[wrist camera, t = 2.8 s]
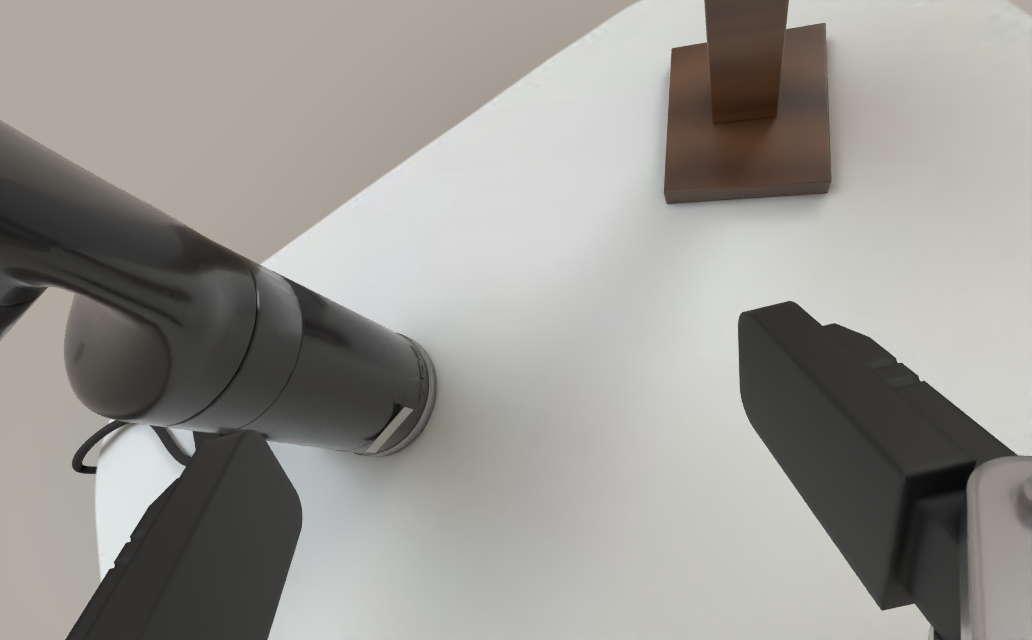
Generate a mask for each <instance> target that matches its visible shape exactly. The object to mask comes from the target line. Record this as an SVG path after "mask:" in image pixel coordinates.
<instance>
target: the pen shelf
mask: <svg viewBox="0 0 1032 640" xmlns="http://www.w3.org/2000/svg"><path fill="white" fill-rule="evenodd" d="M704 1H705V17H706V32H707V43H701V44H695V45H689V46H683V47H677V48H672V53H671V72H670V90H669V108H668V127H667V145H666V163H665V182H664V195H665V200H666V203H679V202H694V201H710V200H725V199H740V198H756V197H771V196H786V195H802V194H817V193H828V190H829V187H830V183H831V158H830V131H829V104H828V77H827V50H826V24H825V23H821V24H815V25H809V26H803V27H797V28H791V29H786V23H787V13H788V3H789V0H704Z"/></svg>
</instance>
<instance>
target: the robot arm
mask: <svg viewBox="0 0 1032 640" xmlns="http://www.w3.org/2000/svg"><path fill="white" fill-rule="evenodd" d="M48 287H56V288H60V289H65V290H68V291H70V292H73V293H75V295H74V298H73V302H72V306H71V309H70V313H69V316H68V321H67V326H66V332H65V340H64V359H65V367H66V372H67V377H68V380H69V382H70V385H71V387H72V389H73V391H74V393H75V394H76V396H77V398H78V399H79V400H80V401H81V402H82V403H83V404H84V405H85V406H86V407H88V408H89V409H90V410H91V411H93V412H95V413H97V414H99V415H101V416H104V417H107V418H110V419H114V420H115V421H113V422H111V423H110V424H108V425H106V426H105V427H103V428H102V429H100V430H99V431H98V432H96V433H95V434H94V435H93V436H92V437H90V438H89V439H88V440H87V441H86V442H85V443H84V444H83V445H82V446H81V447H80V448H79V450H78V451H77V453H76V454H75V456H74V458H73V461H72V467H73V469H74V470H75V471H76V472H78V473H83V474H97V467H96V466H85V465H83V464H82V461H83V458H84V457H85V455H86V454H87V452H88V451H89V450H90V449H91V448H92V447H93V446H94V445H95V443H97V442H98V441H99V440H100V439H102V438H103V437H104V436H106V435H107V434H109V433H110V432H112V431H114V430H115V429H117V428H119V427H121V426H123V425H126V424H128V423H138V424H145V425H149V426H151V427H152V428H153V429H154V431H155V432H156V433H157V435H158V436H159V438H160V439H161V441H162V443H163V444H164V446H165V447H166V449H167V450H168V451H169V453H170V454H171V455H172V456H173V457H174V458H175V460H177V461H178V462H179V463H181V464H182V465H184V466H186V468H185V469H184V471H183V473H182V474H181V476H180V478H177V479H176V480H175V481H174V482H173V483H172V484H171V485H170V486H169V487H168V488H167V489H166V490H165V491H164V492H163V493H162V494H161V495H160V496H159V497H158V498H157V499H156V500H155V501H154V502H153V503H152V504H151V505H150V506H149V507H148V509H147V510H146V512H145V514H144V515H143V517H142V518H141V520H140V522H139V523H138V525H137V526H136V528H135V530H134V531H133V533H132V534H131V536H130V538H131V541H130V542H128V543H126V544H125V546H124V547H123V549H122V550H121V552H120V553H119V555H118V557H117V558H116V560H115V561H114V563H115V567H114V568H112V569H109V571H108V573H107V574H106V576H105V577H104V579H103V581H102V582H101V584H100V585H99V587H98V589H97V590H96V592H95V593H94V595H93V596H92V598H91V600H90V601H89V603H88V605H87V606H86V608H85V610H84V611H83V613H82V614H81V616H80V617H79V619H78V621H77V622H76V624H75V625H74V627H73V628H72V630H71V632H70V633H69V635H68V636H67V638H66V640H267V639H268V636H269V633H270V629H271V626H272V623H273V620H274V616H275V613H276V610H277V607H278V603H279V600H280V597H281V594H282V590H283V587H284V584H285V581H286V577H287V574H288V571H289V568H290V564H291V561H292V558H293V554H294V551H295V548H296V545H297V541H298V538H299V535H300V532H301V527H302V507H301V503H300V499H299V496H298V494H297V492H296V490H295V488H294V487H293V485H292V483H291V482H290V480H289V478H288V477H287V475H286V473H285V472H284V470H283V469H282V467H281V465H280V464H279V462H278V460H277V459H276V457H275V455H274V454H273V452H272V450H271V449H270V447H269V445H268V444H267V442H266V441H274V442H281V443H288V444H296V445H303V446H310V447H317V448H325V449H332V450H337V451H345V452H352V453H355V454H358V455H364V456H372V457H379V456H385V455H389V454H392V453H395V452H397V451H399V450H401V449H402V448H404V447H405V446H407V445H408V444H409V443H410V442H412V441H413V440H414V439H415V438H416V437H417V436H418V434H419V433H420V432H421V431H422V429H423V428H424V426H425V424H426V423H427V421H428V419H429V417H430V414H431V412H432V409H433V406H434V402H435V396H436V376H435V371H434V368H433V365H432V362H431V360H430V358H429V356H428V354H427V353H426V352H425V350H424V349H423V348H422V347H421V346H420V345H419V344H418V343H416V342H415V341H413V340H411V339H410V338H408V337H406V336H404V335H401V334H399V333H395V332H393V331H391V330H389V329H387V328H385V327H383V326H381V325H379V324H377V323H375V322H373V321H371V320H369V319H367V318H365V317H363V316H361V315H359V314H357V313H355V312H353V311H351V310H349V309H347V308H345V307H343V306H341V305H339V304H337V303H335V302H333V301H331V300H330V299H328V298H326V297H324V296H322V295H320V294H318V293H316V292H314V291H312V290H310V289H308V288H306V287H304V286H302V285H300V284H298V283H296V282H294V281H292V280H290V279H288V278H286V277H284V276H282V275H280V274H278V273H276V272H274V271H271V270H269V269H267V268H265V267H263V266H261V265H259V264H257V263H255V262H253V261H251V260H249V259H247V258H245V257H243V256H241V255H239V254H237V253H235V252H233V251H231V250H230V249H228V248H226V247H224V246H222V245H220V244H218V243H216V242H214V241H212V240H210V239H208V238H206V237H205V236H203V235H201V234H200V233H198V232H196V231H195V230H193V229H191V228H190V227H188V226H186V225H185V224H183V223H181V222H180V221H178V220H176V219H175V218H173V217H171V216H170V215H168V214H166V213H165V212H163V211H161V210H159V209H157V208H156V207H154V206H152V205H151V204H148V203H147V202H145V201H143V200H141V199H139V198H137V197H135V196H133V195H132V194H130V193H128V192H126V191H124V190H122V189H120V188H118V187H116V186H114V185H112V184H111V183H109V182H107V181H105V180H103V179H102V178H100V177H98V176H96V175H94V174H93V173H91V172H89V171H87V170H85V169H84V168H82V167H80V166H79V165H77V164H75V163H73V162H71V161H69V160H68V159H66V158H64V157H63V156H61V155H59V154H58V153H56V152H54V151H52V150H51V149H49V148H47V147H45V146H44V145H42V144H40V143H39V142H37V141H35V140H33V139H32V138H30V137H28V136H27V135H25V134H23V133H22V132H20V131H18V130H16V129H15V128H13V127H11V126H9V125H8V124H6V123H4V122H3V121H1V120H0V340H1V339H2V338H3V337H4V336H5V335H6V334H7V333H8V332H9V330H10V329H11V328H12V327H13V326H14V325H15V324H16V322H17V321H18V320H19V319H20V318H21V317H22V316H23V315H24V313H25V312H26V311H27V310H28V309H29V308H30V307H31V306H32V305H33V303H34V302H35V301H36V300H37V299H38V298H39V297H40V296H41V294H42V293H43V292H44V291H45V290H46V289H47V288H48ZM738 342H739V375H740V393H741V399H742V403H743V406H744V409H745V412H746V415H747V417H748V419H749V421H750V423H751V425H752V426H753V428H754V429H755V431H756V432H757V434H758V435H759V436H760V438H761V439H762V441H763V442H764V444H765V445H766V446H767V448H768V449H769V451H770V452H771V454H772V455H773V456H774V458H775V459H776V461H777V462H778V464H779V465H780V466H781V468H782V469H783V471H784V472H785V473H786V475H787V476H788V478H789V479H790V481H791V482H792V483H793V485H794V486H795V488H796V489H797V491H798V492H799V493H800V495H801V496H802V498H803V499H804V501H805V502H806V503H807V505H808V506H809V508H810V509H811V511H812V512H813V513H814V515H815V516H816V518H817V519H818V520H819V522H820V523H821V525H822V526H823V528H824V529H825V530H826V532H827V533H828V535H829V536H830V538H831V539H832V540H833V542H834V543H835V545H836V546H837V548H838V549H839V550H840V552H841V553H842V555H843V556H844V558H845V559H846V560H847V562H848V563H849V565H850V566H851V568H852V569H853V570H854V572H855V573H856V575H857V576H858V577H859V579H860V580H861V582H862V583H863V585H864V586H865V587H866V589H867V590H868V592H869V593H870V595H871V596H872V597H873V599H874V600H875V602H876V603H877V605H878V606H879V607H880V609H881V610H887V609H891V608H896V607H900V606H905V605H909V604H914V603H915V605H916V606H917V607H918V608H919V610H920V611H921V612H922V614H923V615H924V616H925V618H926V619H927V620H928V621H929V623H930V624H931V626H930V630H929V636H928V640H1032V456H1018V455H1017V454H1015V453H1014V452H1013V451H1011V450H1010V449H1009V448H1008V447H1006V446H1005V445H1004V444H1003V443H1001V442H1000V441H999V440H998V439H996V438H995V437H994V436H993V435H991V434H990V433H989V432H988V431H986V430H985V429H984V428H983V427H981V426H980V425H979V424H978V423H976V422H975V421H974V420H973V419H971V418H970V417H969V416H968V415H966V414H965V413H964V412H963V411H961V410H960V409H959V408H958V407H956V406H955V405H954V404H953V403H951V402H950V401H949V400H948V399H946V398H945V397H944V396H943V395H941V394H940V393H939V392H938V391H936V390H935V389H934V388H933V387H931V386H930V385H929V384H928V383H926V382H925V381H922V382H921V381H920V380H919V376H918V375H916V374H915V373H914V372H913V371H911V370H910V369H909V368H908V367H906V366H905V365H904V364H903V363H897V361H896V358H895V357H894V356H893V355H891V354H890V353H889V352H888V351H886V350H885V349H884V348H883V347H881V346H880V345H879V344H877V343H876V342H875V341H874V340H872V339H871V338H870V337H867V336H865V335H863V334H860V333H858V332H855V331H853V330H850V329H848V328H845V327H843V326H840V325H838V324H835V323H834V324H830V325H825V326H822V325H821V324H819V323H818V322H817V321H816V320H815V319H814V318H813V317H811V316H810V315H809V314H808V313H807V312H806V311H805V310H803V309H802V308H801V307H800V306H799V305H798V304H796V303H795V302H792V301H787V302H783V303H779V304H775V305H771V306H767V307H763V308H758V309H754V310H750V311H746V312H742V313H741V315H740V316H739V321H738ZM164 427H169V428H176V429H184V430H191V431H198V432H206V433H215V434H222V435H225V436H221V437H216V438H212V439H208V440H205V441H203V442H202V443H201V444H200V445H199V446H198V448H197V449H196V451H195V453H194V454H193V456H192V458H190V457H188V456H186V455H185V454H184V453H182V452H181V451H180V450H179V448H178V447H177V446H176V444H175V443H174V442H173V440H172V438H171V437H170V435H169V434H168V432H167V431H166V430H165V428H164ZM265 440H266V441H265Z"/></svg>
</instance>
